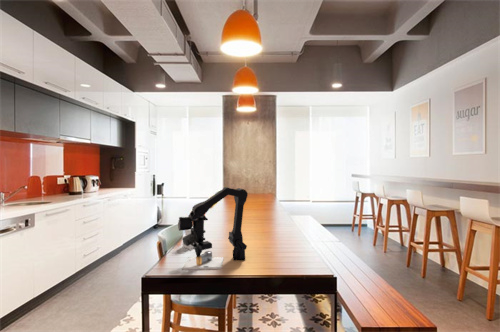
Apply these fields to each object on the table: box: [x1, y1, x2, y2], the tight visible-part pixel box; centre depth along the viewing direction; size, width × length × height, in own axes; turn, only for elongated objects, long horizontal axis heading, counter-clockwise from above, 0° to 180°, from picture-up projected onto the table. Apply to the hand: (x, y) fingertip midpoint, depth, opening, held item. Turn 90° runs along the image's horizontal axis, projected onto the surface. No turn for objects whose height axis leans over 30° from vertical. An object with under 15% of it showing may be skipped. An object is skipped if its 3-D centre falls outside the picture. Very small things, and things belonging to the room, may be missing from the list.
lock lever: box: [195, 250, 213, 265], centre depth 153 cm, size 10×4×4 cm, turn 150°
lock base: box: [182, 256, 224, 271], centre depth 153 cm, size 20×14×1 cm
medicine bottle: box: [182, 227, 194, 250], centre depth 182 cm, size 7×7×12 cm
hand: (198, 257), depth 151 cm, fingers closed
